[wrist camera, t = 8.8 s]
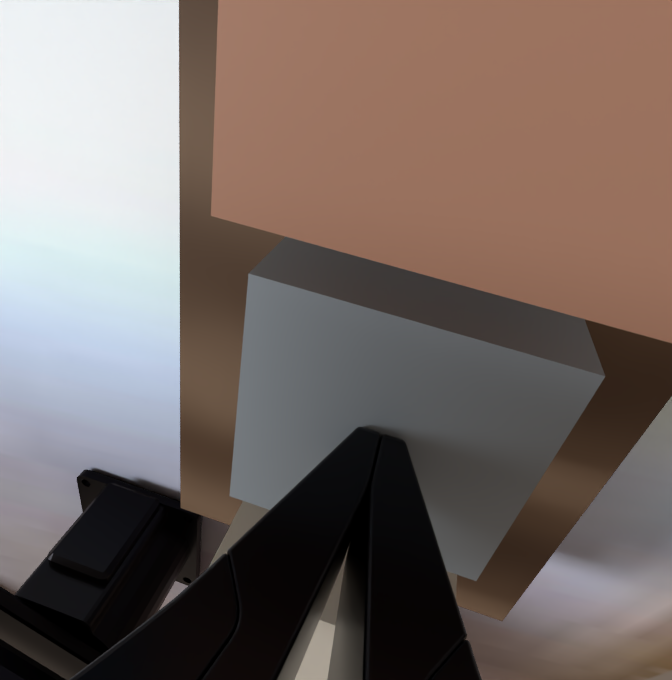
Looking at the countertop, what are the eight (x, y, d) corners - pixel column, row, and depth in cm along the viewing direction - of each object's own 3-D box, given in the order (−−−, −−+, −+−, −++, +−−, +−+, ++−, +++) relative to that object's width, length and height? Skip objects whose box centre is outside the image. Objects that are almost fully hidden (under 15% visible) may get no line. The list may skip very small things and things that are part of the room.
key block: (499, 534, 19) (502, 621, 17) (222, 442, 21) (180, 508, 18) (923, -150, 8) (1157, -251, 5) (268, -253, 10) (177, -378, 7)
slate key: (477, 397, 14) (475, 581, 9) (311, 347, 15) (229, 496, 10) (553, 233, 11) (604, 376, 7) (343, 178, 12) (248, 273, 7)
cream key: (415, 553, 17) (388, 758, 12) (277, 506, 18) (198, 683, 13) (462, 453, 14) (452, 668, 9) (295, 400, 15) (203, 576, 10)
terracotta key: (588, 193, 10) (697, 350, 5) (339, 132, 10) (210, 215, 5) (762, -172, 7) (1485, -716, 2) (402, -228, 7) (243, -758, 2)
